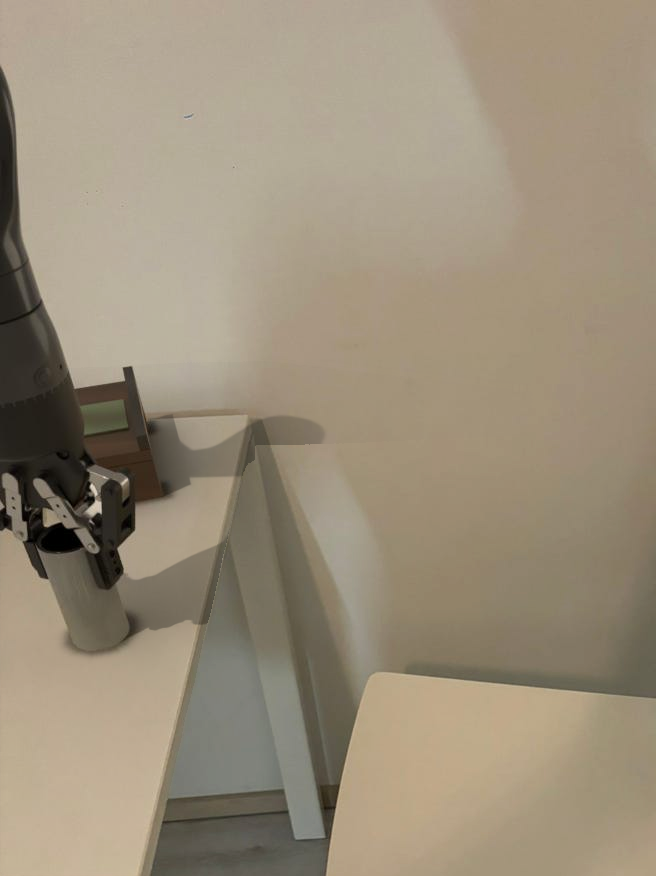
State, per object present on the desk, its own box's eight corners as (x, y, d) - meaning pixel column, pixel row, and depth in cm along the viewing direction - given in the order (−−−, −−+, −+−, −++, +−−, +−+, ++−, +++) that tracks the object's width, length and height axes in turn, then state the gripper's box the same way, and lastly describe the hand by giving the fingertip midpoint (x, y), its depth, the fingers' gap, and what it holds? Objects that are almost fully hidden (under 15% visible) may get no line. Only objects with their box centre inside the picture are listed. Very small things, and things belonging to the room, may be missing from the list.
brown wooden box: (64, 443, 102) (42, 379, 97) (148, 429, 104) (132, 365, 100) (70, 520, 91) (45, 452, 86) (164, 502, 93) (146, 434, 88)
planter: (65, 636, 78) (25, 534, 71) (116, 613, 80) (82, 512, 73) (88, 664, 75) (49, 560, 68) (141, 639, 77) (107, 536, 71)
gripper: (133, 362, 64) (186, 565, 75) (-46, 340, 66) (32, 538, 78) (68, 413, 58) (136, 623, 69) (-123, 386, 61) (-28, 592, 72)
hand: (81, 577), depth 73 cm, fingers closed on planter, 4 cm apart
